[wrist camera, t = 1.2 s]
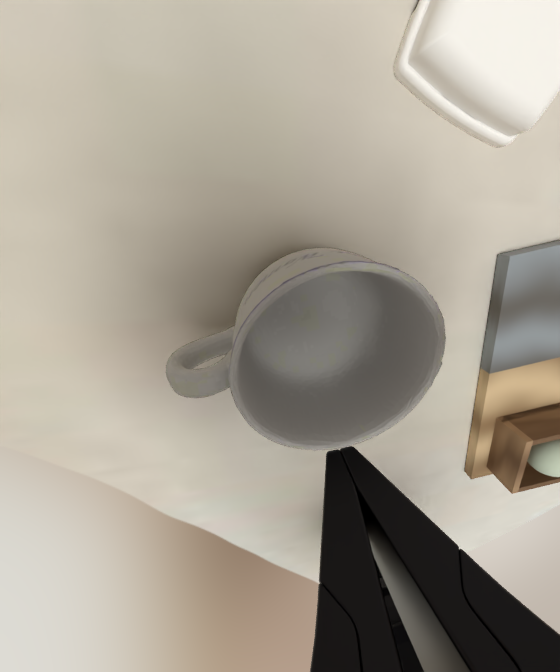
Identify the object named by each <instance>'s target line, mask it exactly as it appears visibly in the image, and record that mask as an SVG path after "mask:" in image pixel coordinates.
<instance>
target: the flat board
mask: <svg viewBox="0 0 560 672" xmlns="http://www.w3.org/2000/svg"><path fill="white" fill-rule="evenodd" d="M556 403H560V240H557V241H553V242H549V243H544V244H540V245H536V246H531V247H527V248H523V249H518V250H514V251H510V252H505V253H501V254H498V257H497V263H496V270H495V276H494V283H493V289H492V296H491V302H490V309H489V315H488V322H487V328H486V335H485V341H484V348H483V354H482V361H481V367H480V373H479V380H478V386H477V393H476V399H475V406H474V412H473V419H472V425H471V432H470V438H469V445H468V451H467V458H466V464H465V472H466V473H467V475H468V476H469V477H470V478H471V479H474V478H478V477H482V476H486V475H490V474H493V473H492V472H491V471H490V470H489V469H488V468H487V467H486V466H487V462H488V457H489V452H490V447H491V442H492V437H493V433H494V428H495V423H496V418H497V417H501V416H505V415H510V414H514V413H518V412H522V411H526V410H531V409H535V408H539V407H543V406H547V405H551V404H556Z"/></svg>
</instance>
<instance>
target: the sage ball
mask: <svg viewBox="0 0 560 672" xmlns="http://www.w3.org/2000/svg"><path fill="white" fill-rule="evenodd" d="M527 462H528V463H529V464H530V465H531V466H532V467H533V468H534V469H535V470H537V471H539V472H540V473H543V474H545V475H548V476H552V477H560V439H557V440H553V441H549V442H545V443H541V444H537V445H532V447H531V450H530V454H529V457H528V460H527Z"/></svg>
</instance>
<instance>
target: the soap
mask: <svg viewBox="0 0 560 672" xmlns="http://www.w3.org/2000/svg"><path fill="white" fill-rule="evenodd" d="M394 74H395V77H396V78H397V79H398V80H399V81H400V82H401V83H402V84H403V85H404V86H405V87H406V88H407V89H408V90H409V91H410V92H412V93H413V94H414V95H415V96H416V97H417V98H419V99H420V100H421V101H422V102H423V103H425V104H426V105H427V106H428V107H430V108H431V109H432V110H434V111H435V112H436V113H437V114H439V115H440V116H442V117H443V118H445V119H446V120H447V121H449V122H450V123H452V124H453V125H455V126H456V127H458V128H460V129H461V130H463V131H465V132H466V133H468V134H470V135H472V136H474V137H475V138H477V139H479V140H481V141H483V142H485V143H487V144H489V145H492V146H494V147H502V146H506V145H508V144H510V143H511V142H512V141H513V140H514V139H515V138H516V136H517V135H518V134H520V133H523V132H526V131H528V130H529V129H531V128H532V127H533V126H534V125H535V123H536V122H537V121H538V119H539V118H540V117H541V116H542V114H543V113H544V112H545V110H546V109H547V108H548V106H549V105H550V104H551V102H552V101H553V99H554V98H555V97H556V95H557V94H558V92H559V91H560V0H419V3H418V5H417V7H416V9H415V11H414V12H413V13H412V15H411V18H410V20H409V23H408V25H407V28H406V31H405V33H404V36H403V39H402V42H401V45H400V48H399V51H398V54H397V57H396V60H395V63H394ZM442 95H443V96H442Z"/></svg>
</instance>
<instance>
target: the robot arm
mask: <svg viewBox="0 0 560 672" xmlns="http://www.w3.org/2000/svg"><path fill="white" fill-rule="evenodd" d="M319 582H320V584H319V587H318V588H319V589H318V605H317V617H316V629H315V639H314V647H313V654H312V662H311V669H310V672H560V634H558V633H557V632H556V631H555V630H553V629H552V628H551V627H550V626H549V625H547V624H546V623H545V622H544V621H542V620H541V619H540V618H539V617H538V616H536V615H535V614H534V613H533V612H532V611H530V610H529V609H528V608H527V607H526V606H525V605H523V604H522V603H521V602H520V601H519V600H517V599H516V598H515V597H514V596H513V595H511V594H510V593H509V592H508V591H507V590H506V589H504V588H503V587H502V586H501V585H500V584H499V583H498V582H497V581H496V580H494V579H493V578H492V577H491V576H490V575H489V574H488V573H487V572H486V571H485V570H483V569H482V568H481V567H480V566H479V565H478V564H477V563H476V562H475V561H474V560H473V559H472V558H470V556H469V555H467V554H466V553H465V552H464V551H463V550H462V549H459V547H458V545H457V544H456V543H455V542H454V541H452V540H451V539H450V538H449V537H448V536H447V535H446V534H445V533H444V532H443V531H442V530H441V529H440V528H439V527H438V526H437V525H436V524H435V523H433V522H432V521H431V520H430V519H429V518H428V517H427V516H426V515H425V514H424V513H423V512H422V511H421V510H420V509H419V508H418V507H417V506H415V505H414V504H413V503H412V502H411V501H410V500H409V499H408V498H407V497H406V496H405V495H404V494H403V493H402V492H401V491H400V490H399V489H398V488H396V487H395V486H394V485H393V484H392V483H391V482H390V481H389V480H388V479H387V478H386V477H385V476H384V475H383V474H382V473H381V472H380V471H378V470H377V469H376V468H375V467H374V466H373V465H372V464H371V463H370V462H369V461H368V460H367V459H366V458H365V457H364V456H363V455H362V454H361V453H359V452H358V451H357V450H356V449H355V448H354V447H352V446H349V447H345V448H341V449H340V450H333V451H329V452H327V454H326V470H325V488H324V505H323V522H322V539H321V556H320V574H319Z"/></svg>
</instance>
